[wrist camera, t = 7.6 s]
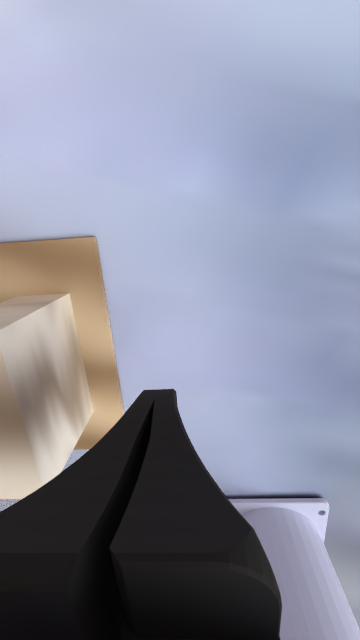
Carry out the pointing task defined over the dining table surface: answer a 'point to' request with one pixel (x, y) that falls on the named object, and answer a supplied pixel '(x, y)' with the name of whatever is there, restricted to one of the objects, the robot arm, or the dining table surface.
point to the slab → (39, 391)
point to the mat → (88, 307)
